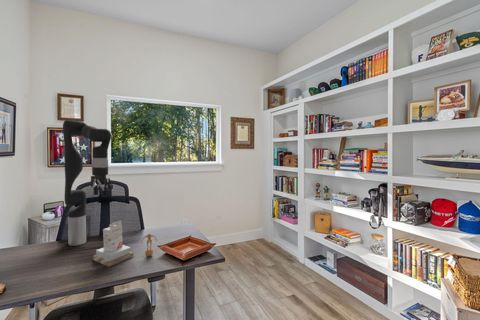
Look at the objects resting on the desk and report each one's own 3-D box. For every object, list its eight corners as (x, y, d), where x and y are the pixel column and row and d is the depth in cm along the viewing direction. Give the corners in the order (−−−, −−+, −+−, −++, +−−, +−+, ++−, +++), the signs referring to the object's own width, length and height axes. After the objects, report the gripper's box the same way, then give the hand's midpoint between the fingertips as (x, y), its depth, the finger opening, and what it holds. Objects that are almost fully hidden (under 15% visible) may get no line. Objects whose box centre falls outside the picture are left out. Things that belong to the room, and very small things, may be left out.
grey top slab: (96, 255, 132) (96, 250, 132) (117, 247, 142) (117, 242, 142) (109, 261, 126) (109, 255, 126) (130, 252, 136) (130, 247, 136)
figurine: (140, 258, 134) (140, 236, 133) (141, 253, 140) (141, 232, 139) (157, 256, 137) (156, 235, 136) (157, 252, 142) (157, 231, 142)
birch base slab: (93, 261, 132) (93, 255, 132) (118, 251, 144) (117, 246, 144) (108, 268, 124) (108, 262, 124) (133, 257, 136) (133, 252, 136)
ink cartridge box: (115, 245, 139) (115, 219, 138) (123, 246, 137) (122, 219, 137) (103, 251, 131) (102, 223, 130) (110, 252, 129) (109, 224, 128)
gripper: (85, 165, 133) (85, 195, 134) (100, 167, 126) (101, 199, 127) (99, 164, 139) (99, 193, 140) (114, 166, 132) (114, 196, 133)
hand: (100, 196), depth 134 cm, fingers open, 8 cm apart
